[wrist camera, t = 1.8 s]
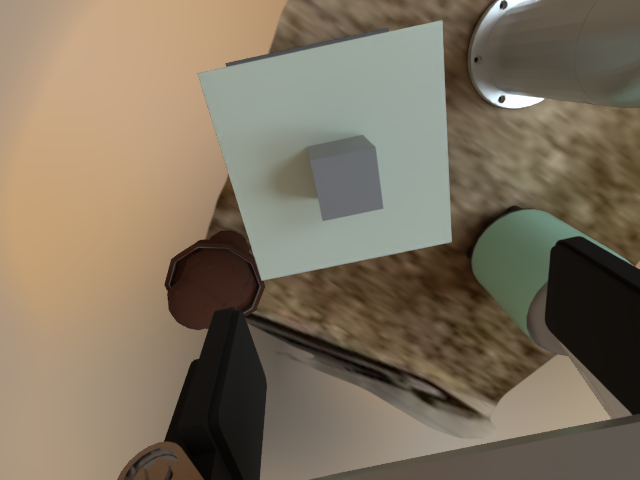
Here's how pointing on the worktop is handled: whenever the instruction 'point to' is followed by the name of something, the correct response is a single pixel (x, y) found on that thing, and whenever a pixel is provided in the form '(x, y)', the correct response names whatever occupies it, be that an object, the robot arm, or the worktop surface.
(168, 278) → the ice cream bowl
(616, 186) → the worktop surface
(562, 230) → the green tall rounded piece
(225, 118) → the cover
